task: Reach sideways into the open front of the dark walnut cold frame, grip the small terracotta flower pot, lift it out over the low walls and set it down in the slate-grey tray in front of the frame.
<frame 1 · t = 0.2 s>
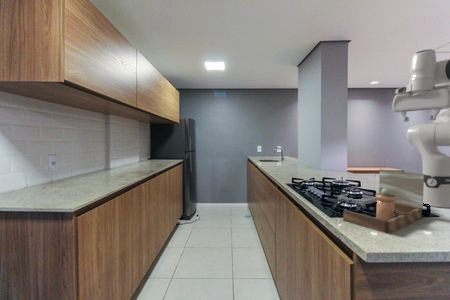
hand: (419, 120, 107), 39 cm above the worktop, tool pointing down, fingers open, 8 cm apart
slate tray: (357, 201, 127), on the worktop
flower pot: (385, 219, 100), on the worktop
cold frame: (385, 219, 100), on the worktop
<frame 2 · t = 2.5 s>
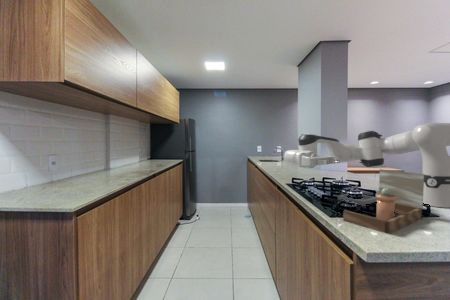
hand: (333, 162, 118), 21 cm above the worktop, tool horizontal, fingers open, 8 cm apart
nothing on the worktop moved.
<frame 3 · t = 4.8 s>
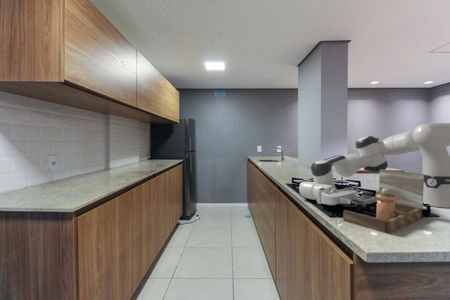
hand: (357, 200, 109), 5 cm above the worktop, tool horizontal, fingers open, 8 cm apart
nothing on the worktop moved.
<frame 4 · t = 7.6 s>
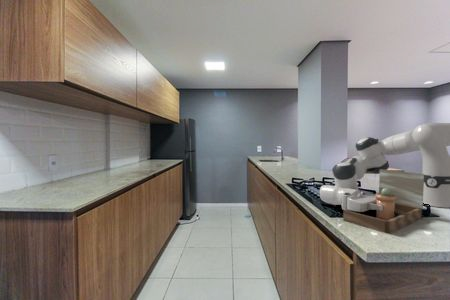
hand: (387, 206, 99), 6 cm above the worktop, tool horizontal, fingers closed on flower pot, 6 cm apart
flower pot: (385, 219, 100), on the worktop, touching gripper
everything else where it was.
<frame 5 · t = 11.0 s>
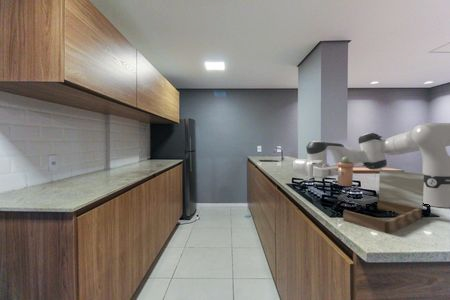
hand: (347, 172, 112), 17 cm above the worktop, tool horizontal, fingers closed on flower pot, 6 cm apart
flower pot: (345, 184, 113), point 11 cm above the worktop, touching gripper
everything else where it was.
when the fingers open (8 cm above the worktop, at t = 14.9 s): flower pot drops 1 cm, resting on slate tray.
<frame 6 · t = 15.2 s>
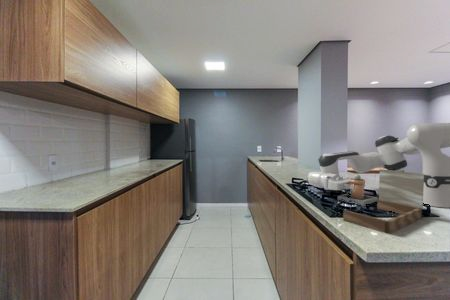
hand: (359, 186, 126), 8 cm above the worktop, tool horizontal, fingers open, 8 cm apart
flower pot: (357, 199, 127), point 1 cm above the worktop, touching slate tray
everything else where it was.
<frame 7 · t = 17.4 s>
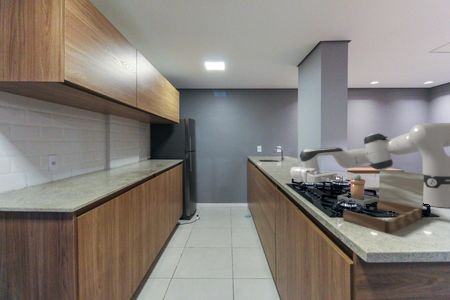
hand: (334, 179, 136), 10 cm above the worktop, tool horizontal, fingers open, 8 cm apart
nothing on the worktop moved.
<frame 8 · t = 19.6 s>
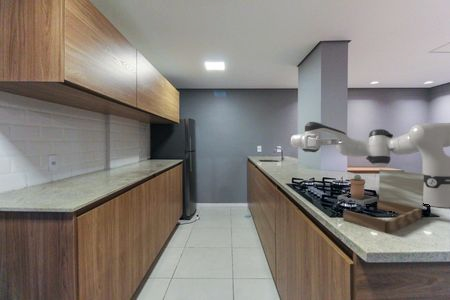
hand: (337, 142, 131), 30 cm above the worktop, tool horizontal, fingers open, 8 cm apart
nothing on the worktop moved.
at the end: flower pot inside the target area on the slate tray (0.0 cm from its centre), point 1.0 cm above the slate tray's base; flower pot tilted 1°; the gripper is holding nothing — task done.
